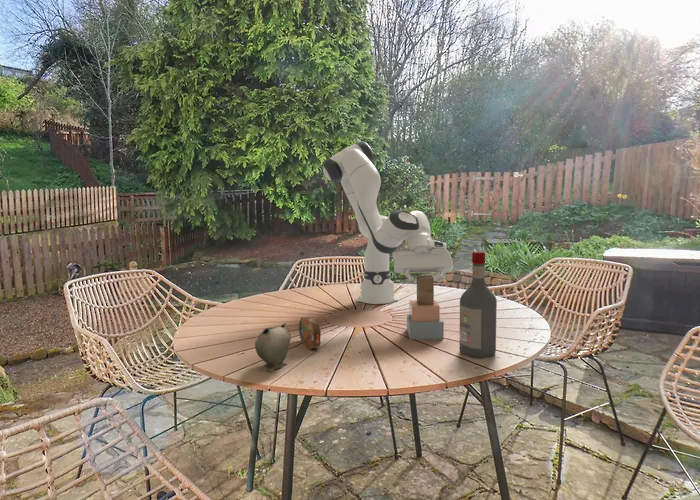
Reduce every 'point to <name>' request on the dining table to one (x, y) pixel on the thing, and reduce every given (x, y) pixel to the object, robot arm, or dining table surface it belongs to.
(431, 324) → the tower base
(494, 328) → the liquor
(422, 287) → the walnut block
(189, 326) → the dining table surface
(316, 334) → the tin
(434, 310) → the tower top
